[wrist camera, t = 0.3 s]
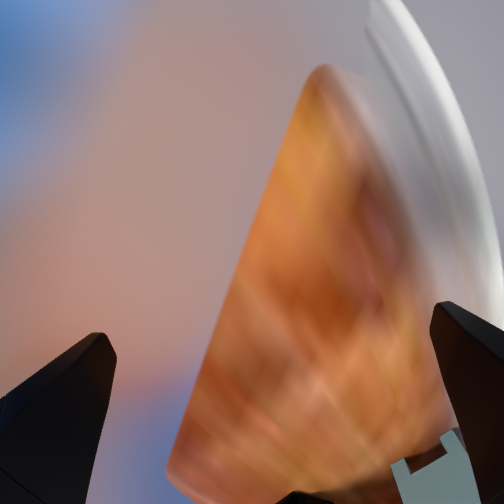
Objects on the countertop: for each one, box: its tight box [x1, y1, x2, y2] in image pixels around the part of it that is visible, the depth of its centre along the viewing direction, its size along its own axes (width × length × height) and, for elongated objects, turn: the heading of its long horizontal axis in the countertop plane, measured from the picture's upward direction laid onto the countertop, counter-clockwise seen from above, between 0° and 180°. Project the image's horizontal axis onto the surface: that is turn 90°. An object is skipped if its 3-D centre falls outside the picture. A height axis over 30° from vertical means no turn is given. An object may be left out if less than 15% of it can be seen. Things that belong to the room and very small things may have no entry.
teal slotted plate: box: [390, 429, 481, 504], centre depth 22 cm, size 8×2×11 cm, turn 124°
